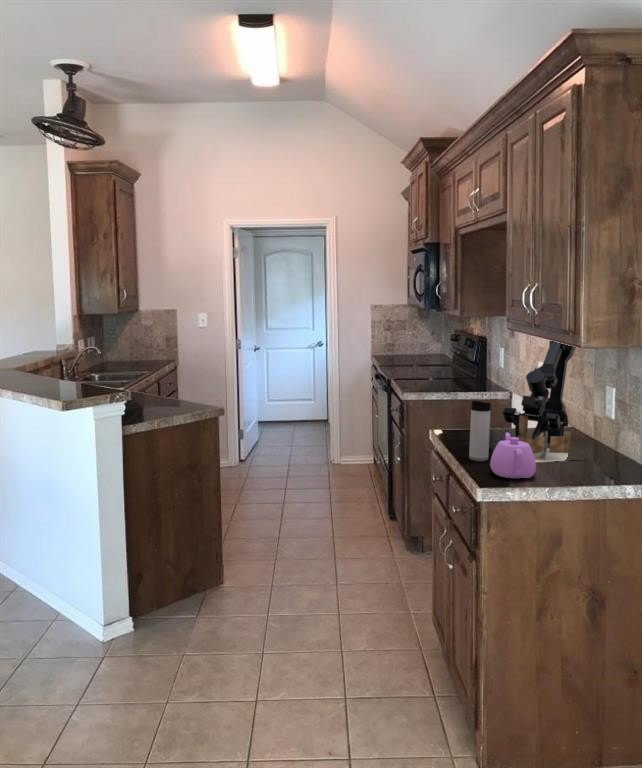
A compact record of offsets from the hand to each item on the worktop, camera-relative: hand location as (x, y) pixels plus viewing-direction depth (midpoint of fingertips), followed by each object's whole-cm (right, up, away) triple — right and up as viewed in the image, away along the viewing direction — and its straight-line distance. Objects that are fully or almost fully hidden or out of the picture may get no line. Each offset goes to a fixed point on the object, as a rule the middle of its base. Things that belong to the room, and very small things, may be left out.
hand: (524, 437), depth 241 cm
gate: (+4, -6, +6) cm, 9 cm away
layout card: (+9, -6, +6) cm, 12 cm away
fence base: (+14, -6, +10) cm, 19 cm away
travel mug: (-16, -7, -2) cm, 17 cm away
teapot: (-10, -10, -21) cm, 25 cm away
